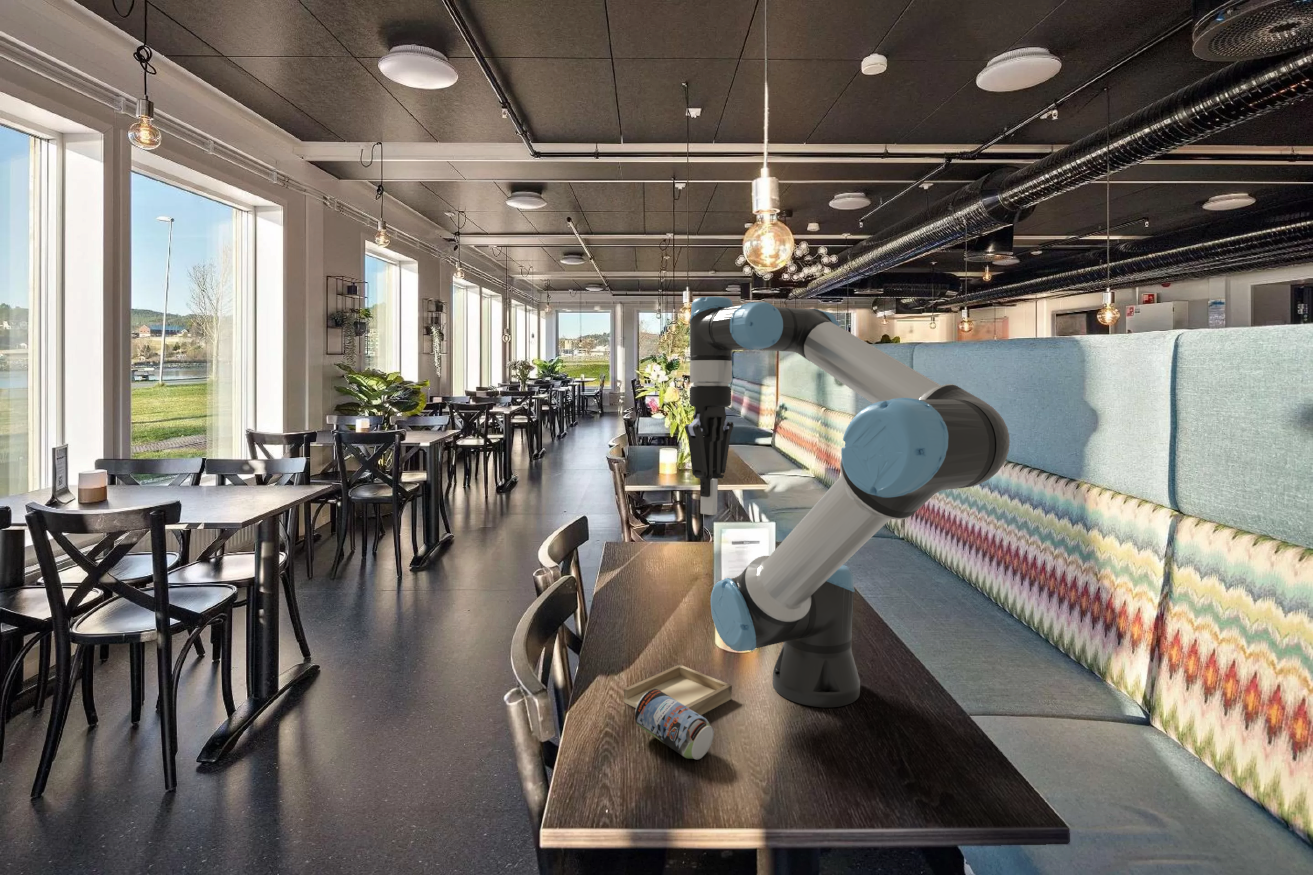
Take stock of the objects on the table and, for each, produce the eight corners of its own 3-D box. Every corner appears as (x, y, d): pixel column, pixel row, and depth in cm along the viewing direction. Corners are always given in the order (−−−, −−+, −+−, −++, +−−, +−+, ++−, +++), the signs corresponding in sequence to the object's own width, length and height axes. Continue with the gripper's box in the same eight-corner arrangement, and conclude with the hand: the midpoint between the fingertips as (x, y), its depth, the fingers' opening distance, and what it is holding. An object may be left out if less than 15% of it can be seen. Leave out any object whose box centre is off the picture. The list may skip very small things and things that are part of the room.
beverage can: (653, 677, 107) (714, 703, 99) (661, 716, 109) (721, 744, 101) (625, 701, 103) (687, 730, 95) (634, 741, 105) (695, 773, 97)
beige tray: (731, 698, 118) (731, 685, 117) (676, 728, 107) (677, 713, 107) (679, 676, 126) (679, 664, 126) (623, 702, 116) (624, 688, 115)
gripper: (712, 384, 132) (710, 506, 133) (672, 384, 121) (671, 516, 123) (746, 385, 127) (744, 511, 129) (708, 384, 117) (706, 521, 118)
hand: (708, 513), depth 126 cm, fingers closed
